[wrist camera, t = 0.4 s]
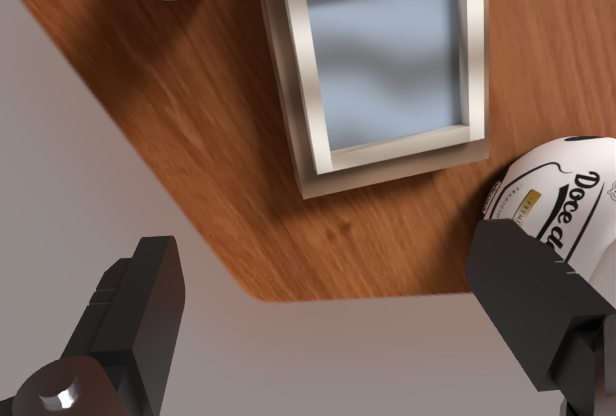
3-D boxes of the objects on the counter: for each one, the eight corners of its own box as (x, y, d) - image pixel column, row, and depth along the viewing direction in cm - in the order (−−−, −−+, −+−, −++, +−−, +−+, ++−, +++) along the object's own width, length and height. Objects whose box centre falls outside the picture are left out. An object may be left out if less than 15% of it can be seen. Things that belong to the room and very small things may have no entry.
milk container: (450, 165, 39) (606, 247, 22) (614, 103, 39) (887, 139, 23) (478, 303, 46) (613, 445, 29) (618, 249, 46) (830, 359, 30)
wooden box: (251, -43, 30) (254, -66, 24) (452, -77, 32) (502, -107, 26) (295, 181, 37) (306, 206, 31) (459, 145, 38) (499, 162, 32)
